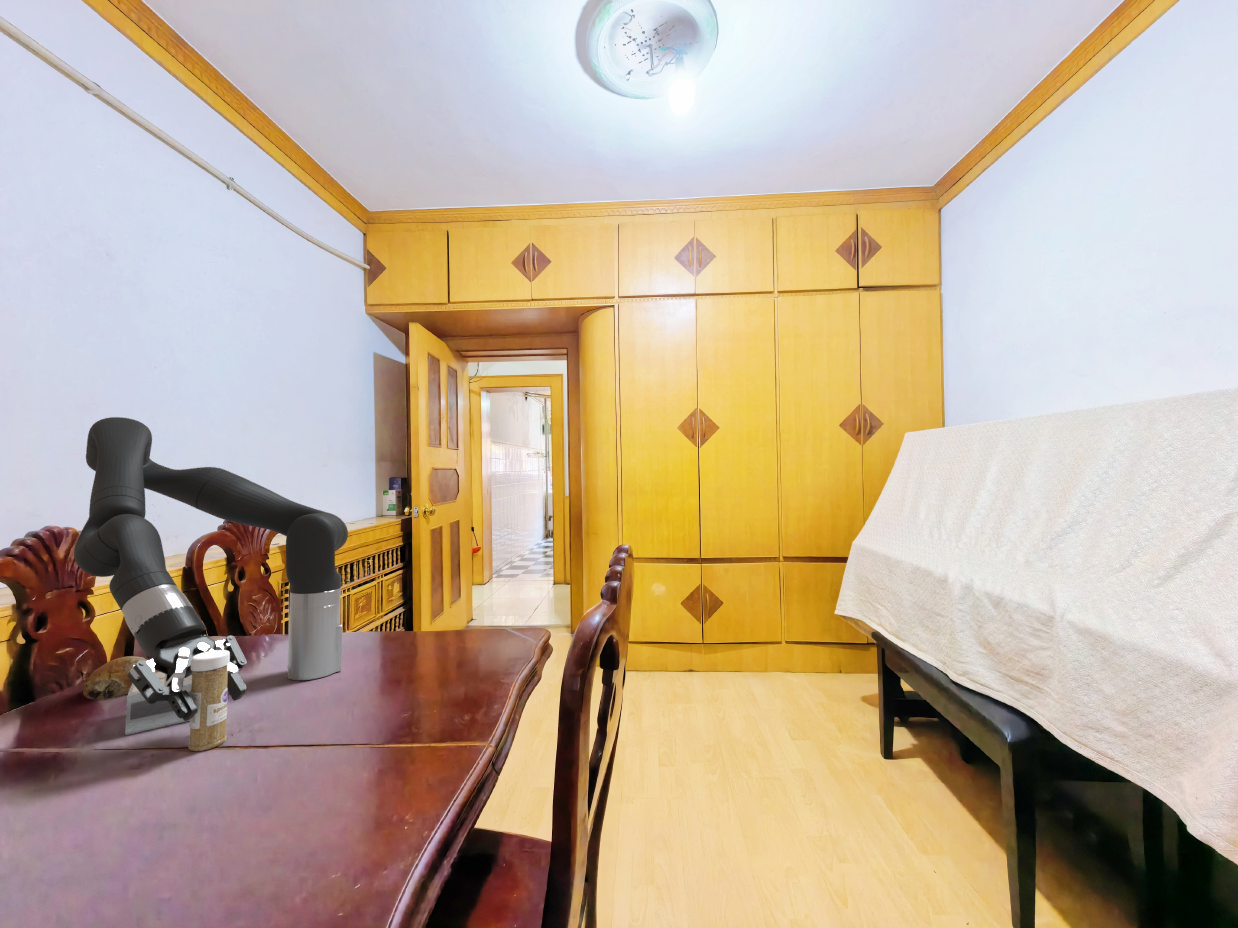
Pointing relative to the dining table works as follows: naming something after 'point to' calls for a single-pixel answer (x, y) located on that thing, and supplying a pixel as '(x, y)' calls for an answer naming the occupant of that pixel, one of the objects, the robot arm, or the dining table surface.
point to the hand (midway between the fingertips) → (216, 705)
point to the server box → (151, 710)
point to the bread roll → (111, 679)
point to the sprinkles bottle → (209, 699)
